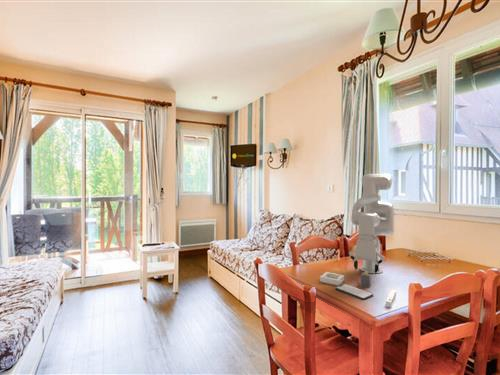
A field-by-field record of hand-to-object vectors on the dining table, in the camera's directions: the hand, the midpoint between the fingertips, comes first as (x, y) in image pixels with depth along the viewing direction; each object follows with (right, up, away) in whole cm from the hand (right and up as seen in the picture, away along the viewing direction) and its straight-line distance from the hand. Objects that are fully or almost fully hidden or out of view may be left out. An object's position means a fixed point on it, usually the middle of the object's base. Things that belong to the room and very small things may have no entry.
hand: (366, 270), depth 142 cm
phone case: (-9, -9, -8) cm, 15 cm away
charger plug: (0, -8, +1) cm, 8 cm away
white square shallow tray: (-15, -8, +7) cm, 19 cm away
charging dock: (+4, -8, -17) cm, 20 cm away
